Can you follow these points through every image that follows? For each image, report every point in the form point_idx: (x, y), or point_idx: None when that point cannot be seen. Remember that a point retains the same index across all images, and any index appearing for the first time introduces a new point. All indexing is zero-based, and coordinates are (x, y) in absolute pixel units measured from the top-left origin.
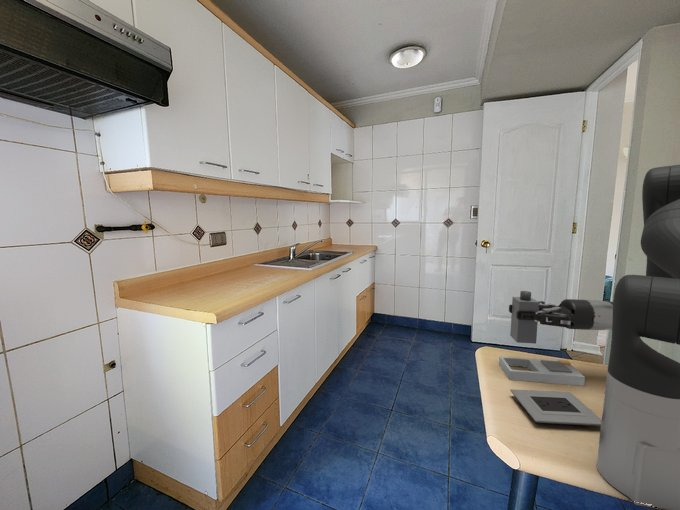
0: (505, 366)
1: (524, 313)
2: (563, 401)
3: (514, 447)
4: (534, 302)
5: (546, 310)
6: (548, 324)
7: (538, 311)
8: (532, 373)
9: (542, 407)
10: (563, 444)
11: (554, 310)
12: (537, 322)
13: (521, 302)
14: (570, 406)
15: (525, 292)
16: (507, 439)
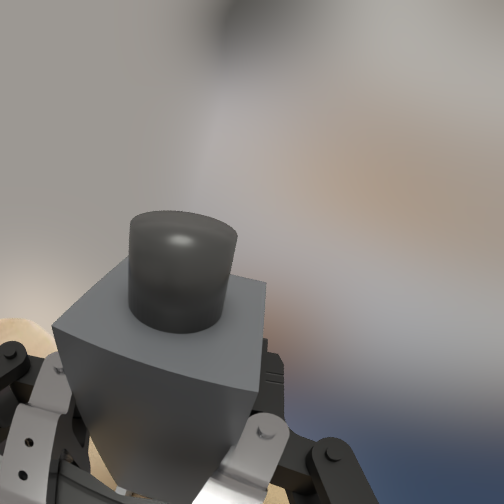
0: None
1: None
2: (2, 442)
3: (6, 322)
4: (75, 304)
5: (19, 405)
6: (3, 400)
7: (61, 378)
8: (116, 491)
9: (9, 390)
10: None
11: (1, 479)
12: (92, 439)
13: (127, 261)
14: None
15: (170, 220)
16: (16, 325)
